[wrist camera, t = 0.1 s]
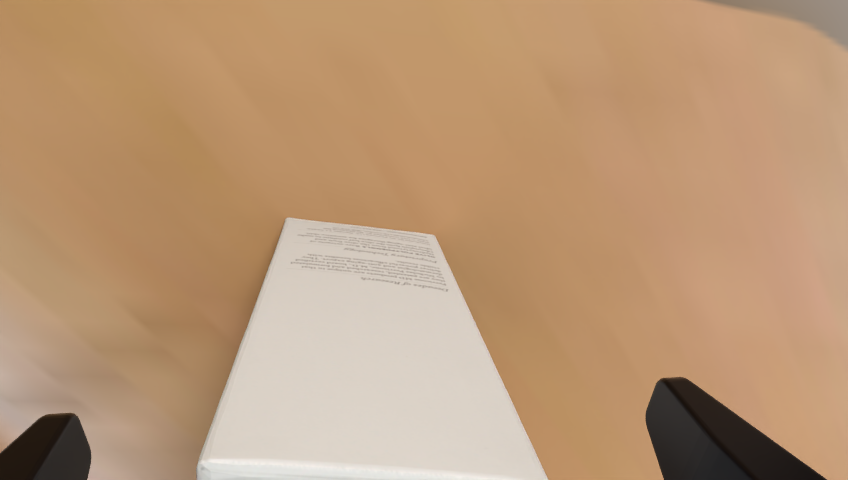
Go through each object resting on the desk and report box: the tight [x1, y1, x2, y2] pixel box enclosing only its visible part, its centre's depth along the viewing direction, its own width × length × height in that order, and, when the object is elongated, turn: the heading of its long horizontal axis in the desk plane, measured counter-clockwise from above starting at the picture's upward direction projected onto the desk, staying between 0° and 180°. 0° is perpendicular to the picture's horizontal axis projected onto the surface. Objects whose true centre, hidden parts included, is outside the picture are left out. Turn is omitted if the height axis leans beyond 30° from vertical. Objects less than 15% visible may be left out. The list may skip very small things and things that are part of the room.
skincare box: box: [196, 218, 548, 480], centre depth 18 cm, size 8×7×16 cm
